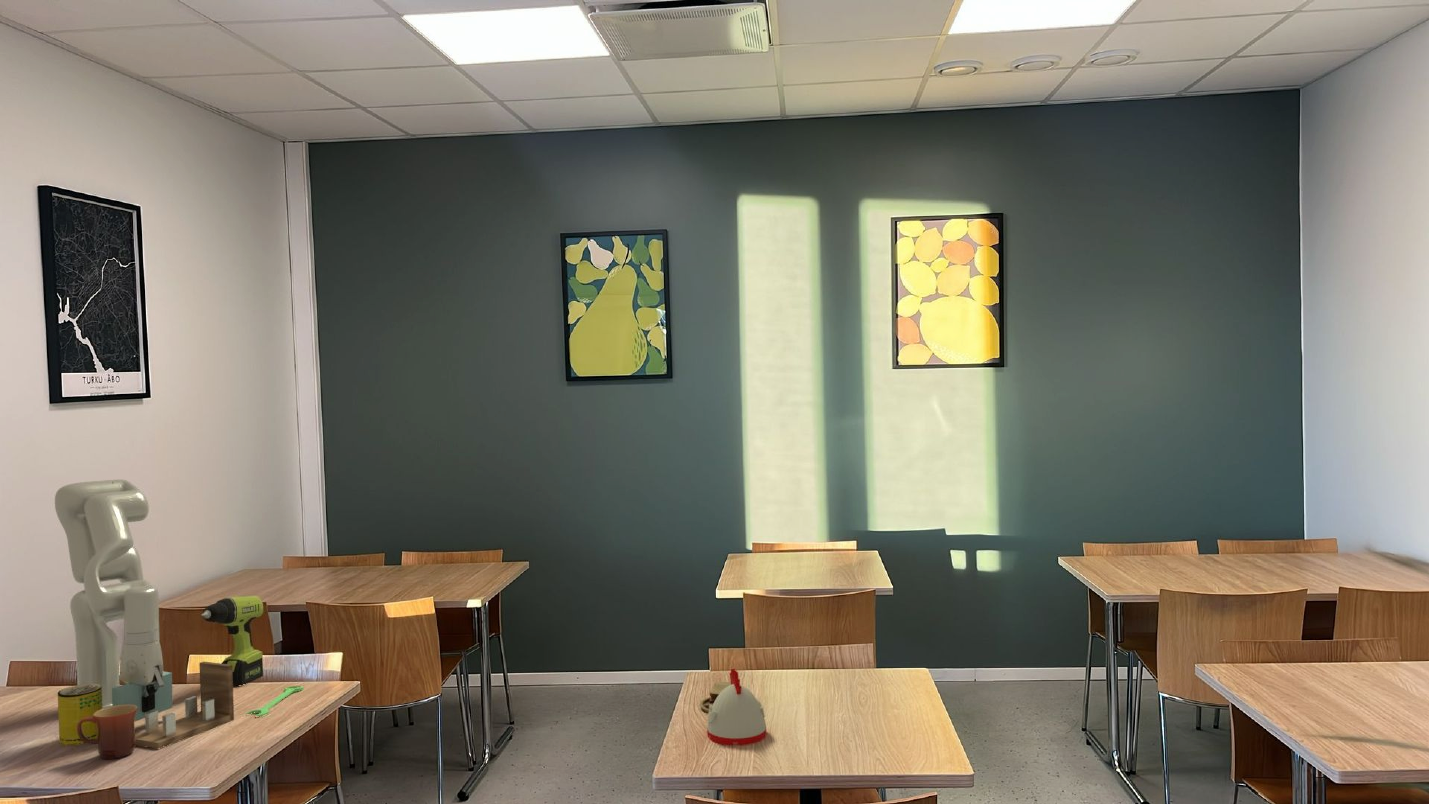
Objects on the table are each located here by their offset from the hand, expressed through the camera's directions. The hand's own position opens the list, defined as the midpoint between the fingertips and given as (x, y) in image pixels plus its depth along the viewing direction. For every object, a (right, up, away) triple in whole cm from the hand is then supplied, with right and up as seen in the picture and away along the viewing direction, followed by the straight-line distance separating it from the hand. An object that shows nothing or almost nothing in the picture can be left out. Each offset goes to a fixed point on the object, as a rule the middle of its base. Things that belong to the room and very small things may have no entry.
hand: (143, 708), depth 244 cm
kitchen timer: (+148, -2, -13) cm, 148 cm away
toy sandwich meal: (+145, -2, +7) cm, 145 cm away
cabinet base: (+11, -5, -4) cm, 13 cm away
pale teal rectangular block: (0, -2, 0) cm, 2 cm away
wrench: (+25, -5, +18) cm, 31 cm away
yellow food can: (-11, -5, -6) cm, 14 cm away
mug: (+3, -5, -18) cm, 19 cm away
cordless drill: (+5, -4, +34) cm, 35 cm away
